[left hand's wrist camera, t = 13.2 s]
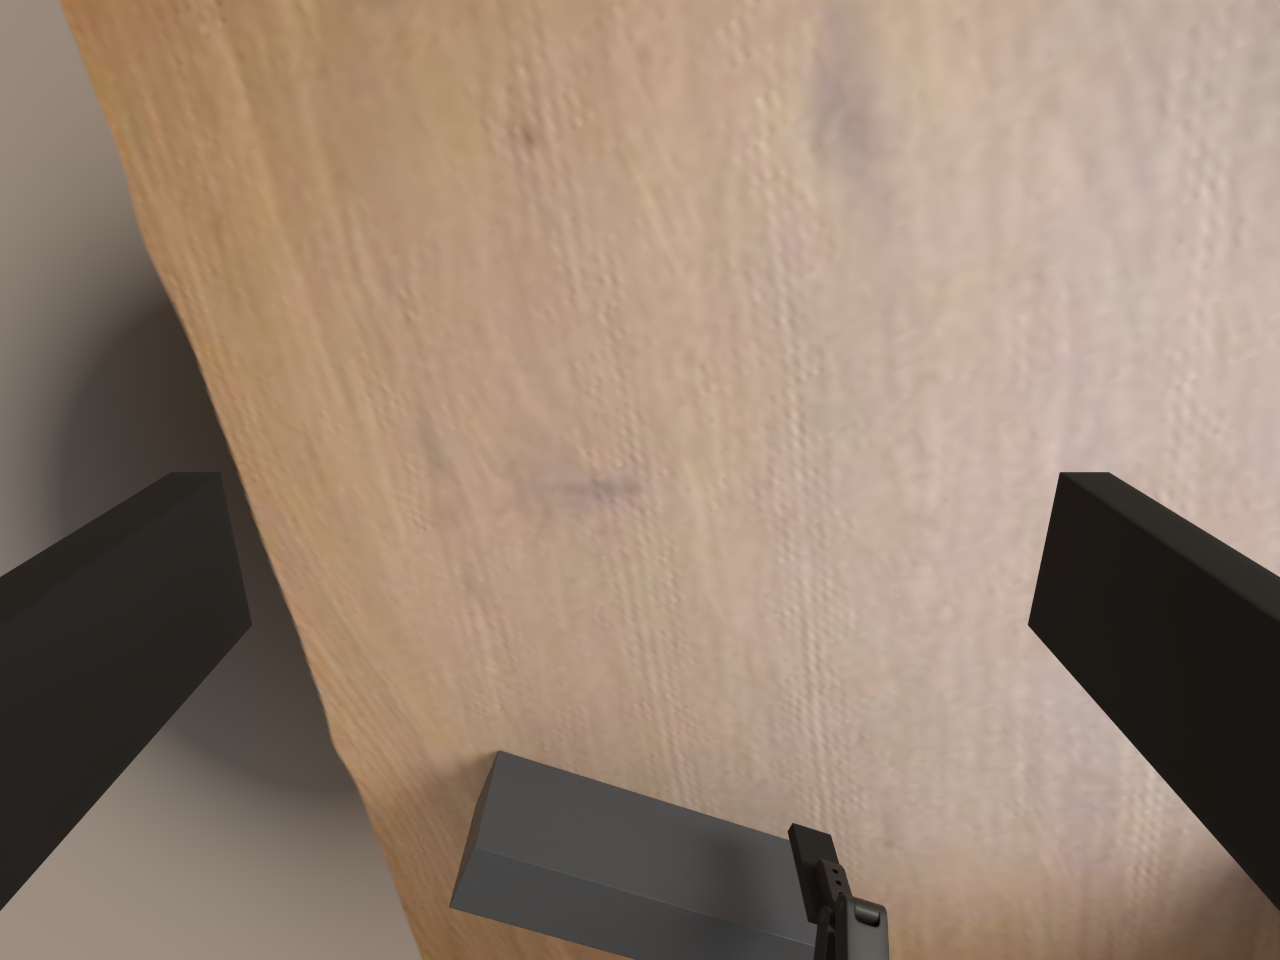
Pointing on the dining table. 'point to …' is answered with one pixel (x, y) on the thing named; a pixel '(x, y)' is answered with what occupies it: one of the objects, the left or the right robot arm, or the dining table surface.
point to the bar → (627, 871)
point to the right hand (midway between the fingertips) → (764, 904)
